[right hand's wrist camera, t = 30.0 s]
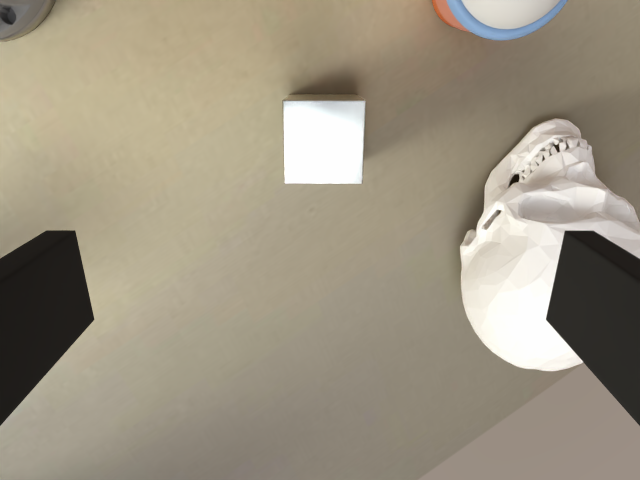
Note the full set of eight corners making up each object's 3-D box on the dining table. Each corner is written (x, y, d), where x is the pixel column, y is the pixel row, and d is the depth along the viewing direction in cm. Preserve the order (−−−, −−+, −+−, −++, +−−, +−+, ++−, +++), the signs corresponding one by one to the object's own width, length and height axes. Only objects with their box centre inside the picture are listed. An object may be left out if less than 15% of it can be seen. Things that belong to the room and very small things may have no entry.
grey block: (357, 94, 42) (366, 100, 34) (355, 163, 45) (362, 184, 37) (289, 93, 42) (282, 99, 34) (291, 163, 45) (284, 183, 37)
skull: (614, 119, 43) (759, 146, 28) (554, 317, 51) (643, 420, 36) (475, 109, 43) (547, 130, 28) (437, 308, 51) (478, 406, 36)
